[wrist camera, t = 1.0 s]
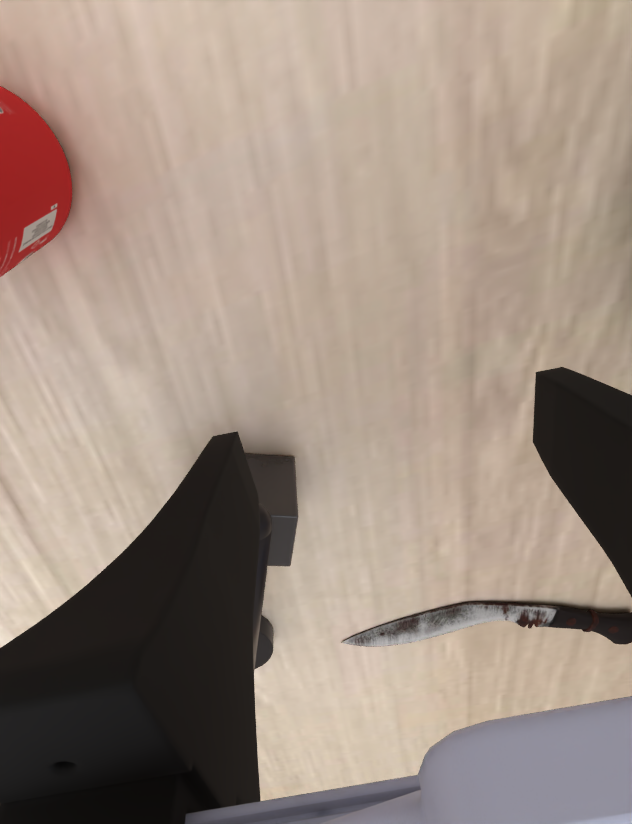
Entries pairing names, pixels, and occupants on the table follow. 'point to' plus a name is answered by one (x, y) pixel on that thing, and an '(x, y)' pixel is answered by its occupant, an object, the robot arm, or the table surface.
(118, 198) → the table surface
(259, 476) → the dark grey cube
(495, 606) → the knife
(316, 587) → the table surface
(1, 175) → the beverage can
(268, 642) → the crank handle
